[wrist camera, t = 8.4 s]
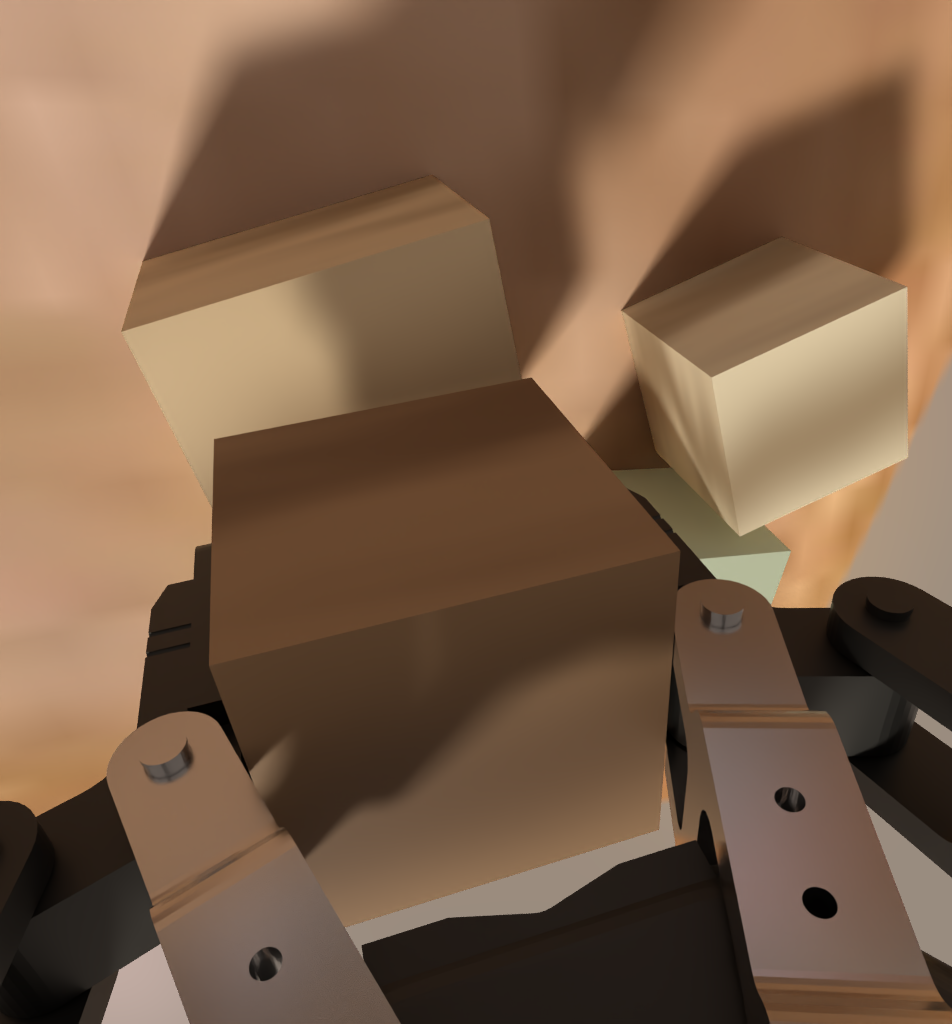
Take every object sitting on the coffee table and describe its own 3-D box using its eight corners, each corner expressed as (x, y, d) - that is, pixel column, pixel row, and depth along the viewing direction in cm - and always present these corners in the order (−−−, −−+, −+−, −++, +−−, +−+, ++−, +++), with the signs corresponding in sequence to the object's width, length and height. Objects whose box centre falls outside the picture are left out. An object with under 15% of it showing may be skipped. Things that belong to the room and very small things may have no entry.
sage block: (558, 471, 24) (626, 565, 20) (700, 464, 26) (791, 551, 21) (536, 599, 27) (593, 705, 23) (666, 587, 28) (741, 684, 24)
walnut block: (214, 439, 12) (208, 665, 8) (531, 377, 12) (680, 550, 8) (287, 677, 14) (312, 937, 10) (542, 613, 15) (658, 829, 11)
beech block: (620, 309, 22) (711, 377, 18) (780, 236, 22) (907, 286, 18) (654, 450, 25) (740, 536, 21) (795, 384, 25) (907, 457, 21)
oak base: (143, 259, 18) (121, 331, 14) (430, 173, 19) (489, 218, 15) (257, 501, 22) (265, 612, 18) (489, 423, 23) (548, 512, 19)
